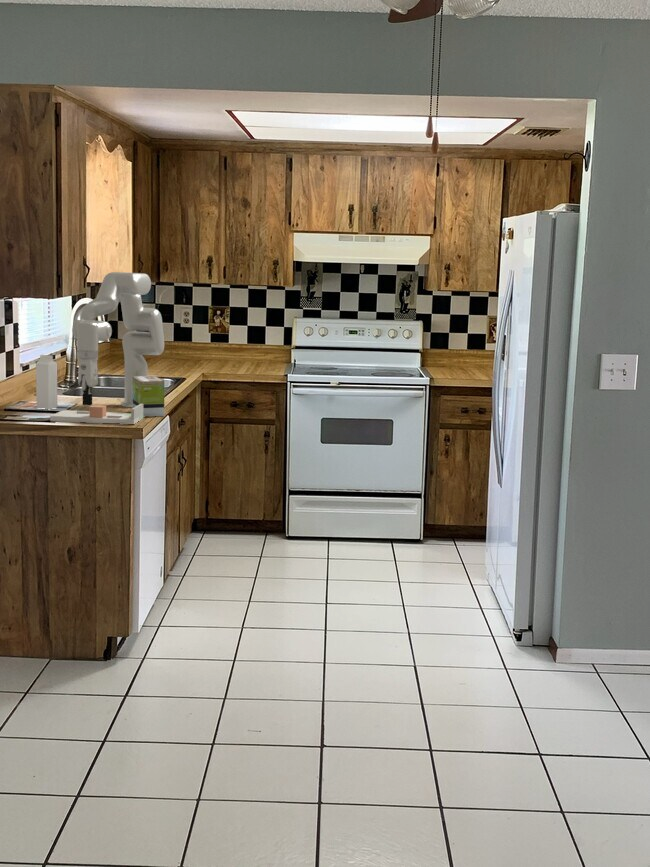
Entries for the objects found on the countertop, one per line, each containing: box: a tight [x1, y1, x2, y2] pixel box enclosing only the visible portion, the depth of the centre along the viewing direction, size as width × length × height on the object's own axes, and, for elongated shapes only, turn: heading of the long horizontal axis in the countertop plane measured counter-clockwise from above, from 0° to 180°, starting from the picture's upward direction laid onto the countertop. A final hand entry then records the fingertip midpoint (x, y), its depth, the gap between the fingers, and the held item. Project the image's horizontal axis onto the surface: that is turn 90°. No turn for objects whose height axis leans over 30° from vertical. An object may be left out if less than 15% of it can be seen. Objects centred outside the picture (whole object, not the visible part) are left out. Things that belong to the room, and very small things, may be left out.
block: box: [88, 404, 107, 418], centre depth 362 cm, size 5×5×4 cm
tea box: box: [132, 375, 165, 418], centre depth 385 cm, size 15×10×15 cm
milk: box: [35, 354, 59, 409], centre depth 387 cm, size 6×6×22 cm
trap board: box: [49, 404, 144, 425], centre depth 366 cm, size 15×32×6 cm, turn 87°
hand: (87, 404), depth 353 cm, fingers closed
